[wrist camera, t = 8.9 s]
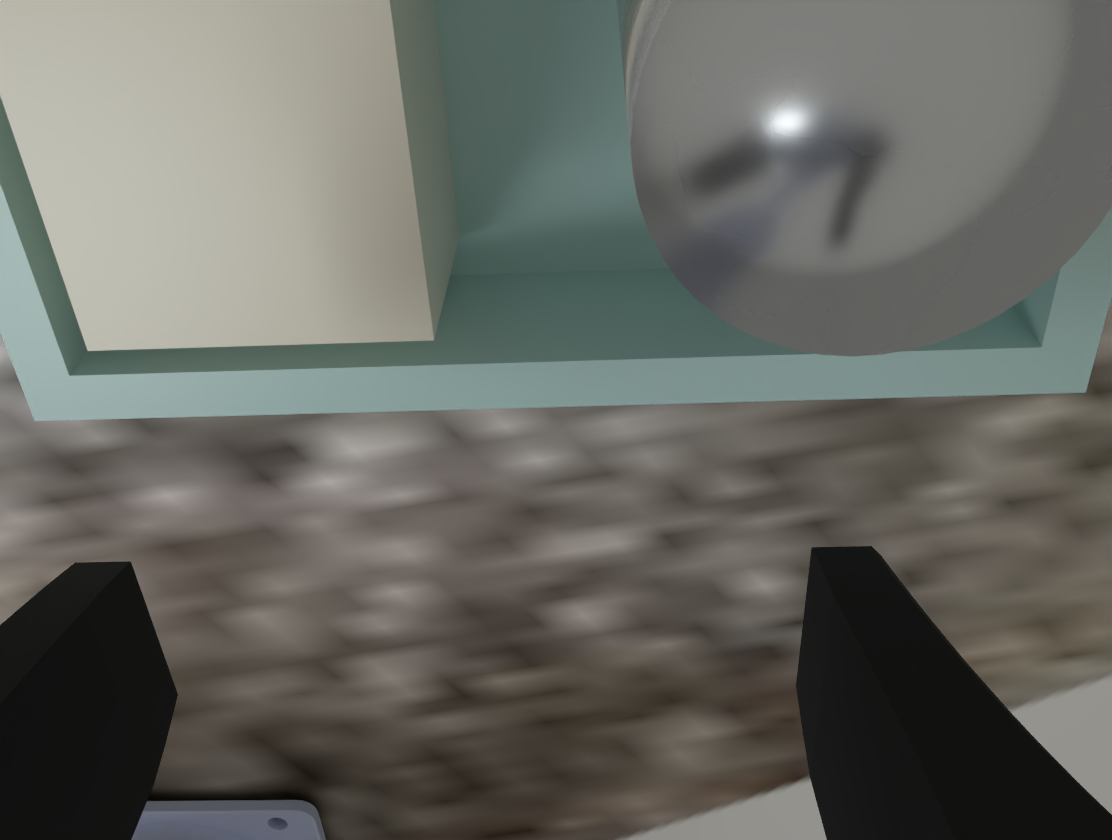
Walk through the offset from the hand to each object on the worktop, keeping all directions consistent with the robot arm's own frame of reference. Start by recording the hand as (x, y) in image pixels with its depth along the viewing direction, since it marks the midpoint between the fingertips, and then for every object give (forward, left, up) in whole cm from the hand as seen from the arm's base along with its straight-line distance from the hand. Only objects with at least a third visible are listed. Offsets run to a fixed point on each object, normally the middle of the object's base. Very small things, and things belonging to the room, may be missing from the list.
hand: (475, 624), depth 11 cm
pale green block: (-3, +5, -8) cm, 10 cm away
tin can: (+4, +5, -8) cm, 10 cm away
